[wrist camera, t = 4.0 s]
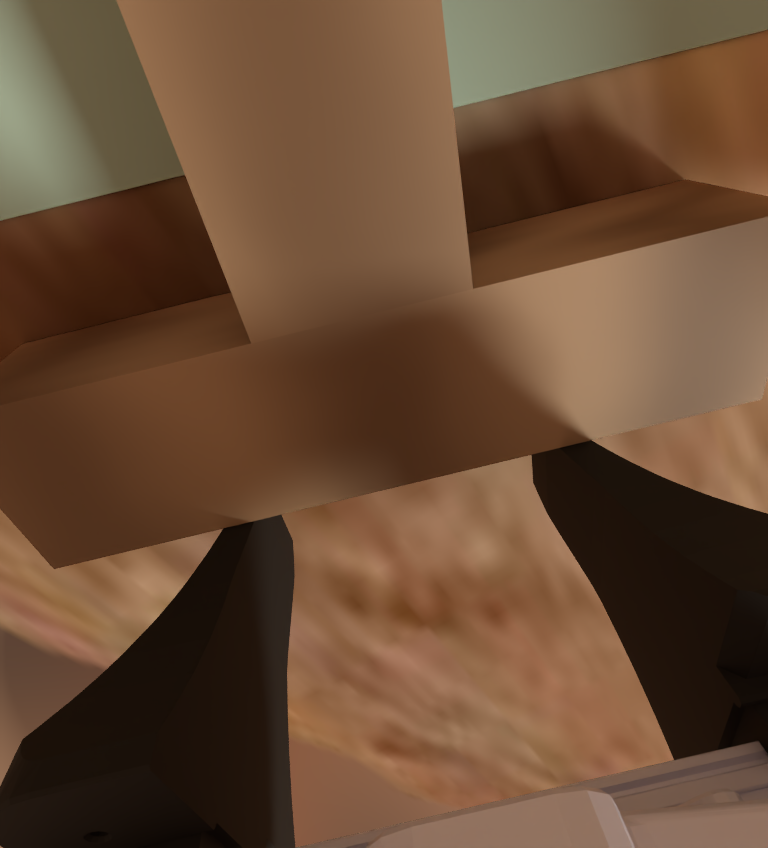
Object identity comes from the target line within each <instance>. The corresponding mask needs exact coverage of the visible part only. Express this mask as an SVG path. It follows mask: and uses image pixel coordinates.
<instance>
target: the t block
mask: <svg viewBox="0 0 768 848" xmlns="http://www.w3.org/2000/svg"><path fill="white" fill-rule="evenodd" d="M116 1H117V3H118V6H119V9H120V11H121V14H122V16H123V19H124V21H125V24H126V26H127V29H128V31H129V34H130V37H131V39H132V42H133V44H134V47H135V49H136V52H137V54H138V57H139V59H140V62H141V64H142V67H143V70H144V72H145V75H146V77H147V80H148V82H149V85H150V87H151V90H152V92H153V95H154V98H155V100H156V103H157V105H158V108H159V110H160V113H161V115H162V118H163V120H164V123H165V125H166V128H167V131H168V133H169V136H170V138H171V141H172V143H173V146H174V148H175V151H176V153H177V156H178V158H179V161H180V164H181V166H182V169H183V171H184V174H185V176H186V179H187V181H188V184H189V186H190V189H191V192H192V194H193V197H194V199H195V202H196V204H197V207H198V209H199V212H200V214H201V217H202V219H203V222H204V225H205V227H206V230H207V232H208V235H209V237H210V240H211V242H212V245H213V247H214V250H215V252H216V255H217V258H218V260H219V263H220V265H221V268H222V270H223V273H224V275H225V278H226V280H227V283H228V286H229V288H230V291H231V292H230V293H226V294H221V295H217V296H213V297H209V298H205V299H201V300H197V301H193V302H189V303H185V304H181V305H177V306H173V307H169V308H165V309H161V310H157V311H153V312H149V313H145V314H141V315H137V316H133V317H129V318H125V319H121V320H117V321H113V322H109V323H104V324H100V325H96V326H92V327H88V328H84V329H80V330H76V331H72V332H68V333H64V334H60V335H56V336H52V337H48V338H44V339H40V340H36V341H32V342H28V343H24V344H21V345H20V346H19V347H18V348H16V349H15V350H14V351H13V352H12V353H10V354H9V355H8V356H7V357H6V358H4V359H3V360H2V361H1V362H0V509H1V510H2V511H3V512H4V513H5V514H6V516H7V517H8V518H9V519H10V520H11V521H12V522H13V523H14V525H15V526H16V527H17V528H18V529H19V530H20V531H21V532H22V534H23V535H24V536H25V537H26V538H27V539H28V540H29V541H30V543H31V544H32V545H33V546H34V547H35V548H36V549H37V550H38V552H39V553H40V554H41V555H42V556H43V557H44V558H45V559H46V560H47V562H48V563H49V564H50V565H51V566H52V567H53V568H54V569H56V568H60V567H64V566H69V565H73V564H77V563H81V562H85V561H89V560H94V559H98V558H102V557H106V556H110V555H114V554H119V553H123V552H127V551H131V550H135V549H140V548H144V547H148V546H152V545H156V544H160V543H165V542H169V541H173V540H177V539H181V538H185V537H190V536H194V535H198V534H202V533H206V532H210V531H215V530H219V529H223V528H227V527H231V526H236V525H240V524H244V523H248V522H252V521H256V520H261V519H265V518H269V517H273V516H277V515H281V514H286V513H290V512H294V511H298V510H302V509H306V508H311V507H315V506H319V505H323V504H327V503H332V502H336V501H340V500H344V499H348V498H352V497H357V496H361V495H365V494H369V493H373V492H377V491H382V490H386V489H390V488H394V487H398V486H402V485H407V484H411V483H415V482H419V481H423V480H427V479H432V478H436V477H440V476H444V475H448V474H453V473H457V472H461V471H465V470H469V469H473V468H478V467H482V466H486V465H490V464H494V463H498V462H503V461H507V460H511V459H515V458H519V457H523V456H528V455H532V454H536V453H540V452H544V451H549V450H553V449H557V448H561V447H565V446H569V445H574V444H578V443H582V442H586V441H590V440H594V439H599V438H603V437H607V436H611V435H615V434H619V433H624V432H628V431H632V430H636V429H640V428H645V427H649V426H653V425H657V424H661V423H665V422H670V421H674V420H678V419H682V418H686V417H690V416H695V415H699V414H703V413H707V412H711V411H715V410H720V409H724V408H728V407H732V406H736V405H740V404H745V403H749V402H753V401H757V400H761V399H762V397H763V393H764V389H765V385H766V381H767V378H768V196H763V195H758V194H753V193H749V192H744V191H739V190H734V189H729V188H724V187H719V186H715V185H710V184H705V183H700V182H695V181H690V180H682V181H678V182H673V183H669V184H665V185H661V186H657V187H653V188H649V189H645V190H641V191H637V192H633V193H629V194H625V195H621V196H617V197H613V198H609V199H605V200H601V201H597V202H593V203H589V204H585V205H581V206H577V207H573V208H569V209H565V210H560V211H556V212H552V213H548V214H544V215H540V216H536V217H532V218H528V219H524V220H520V221H516V222H512V223H508V224H504V225H500V226H496V227H492V228H488V229H484V230H480V231H476V232H472V233H468V234H467V228H466V219H465V210H464V201H463V192H462V183H461V174H460V165H459V155H458V146H457V137H456V128H455V119H454V110H453V101H452V92H451V82H450V73H449V64H448V55H447V46H446V37H445V28H444V19H443V10H442V0H116Z"/></svg>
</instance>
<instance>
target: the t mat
mask: <svg viewBox="0 0 768 848" xmlns="http://www.w3.org/2000/svg"><path fill="white" fill-rule="evenodd" d="M442 10H443V19H444V28H445V37H446V46H447V55H448V64H449V73H450V82H451V92H452V101H453V108H455V107H459V106H463V105H467V104H471V103H475V102H479V101H483V100H487V99H491V98H495V97H499V96H503V95H507V94H511V93H515V92H520V91H524V90H528V89H532V88H536V87H540V86H544V85H548V84H552V83H556V82H560V81H564V80H568V79H572V78H576V77H580V76H584V75H588V74H592V73H596V72H600V71H604V70H608V69H612V68H616V67H620V66H624V65H628V64H632V63H636V62H640V61H644V60H648V59H652V58H656V57H660V56H664V55H668V54H672V53H676V52H680V51H684V50H688V49H692V48H696V47H700V46H704V45H708V44H712V43H716V42H720V41H724V40H728V39H732V38H736V37H741V36H745V35H749V34H753V33H757V32H761V31H765V30H768V0H442ZM182 175H185V174H184V171H183V169H182V166H181V164H180V161H179V158H178V156H177V153H176V151H175V148H174V146H173V143H172V141H171V138H170V136H169V133H168V131H167V128H166V125H165V123H164V120H163V118H162V115H161V113H160V110H159V108H158V105H157V103H156V100H155V98H154V95H153V92H152V90H151V87H150V85H149V82H148V80H147V77H146V75H145V72H144V70H143V67H142V64H141V62H140V59H139V57H138V54H137V52H136V49H135V47H134V44H133V42H132V39H131V37H130V34H129V31H128V29H127V26H126V24H125V21H124V19H123V16H122V14H121V11H120V9H119V6H118V3H117V1H116V0H0V221H1V220H5V219H9V218H13V217H17V216H21V215H25V214H29V213H33V212H37V211H41V210H45V209H49V208H53V207H57V206H61V205H65V204H69V203H73V202H78V201H82V200H86V199H90V198H94V197H98V196H102V195H106V194H110V193H114V192H118V191H122V190H126V189H130V188H134V187H138V186H142V185H146V184H150V183H154V182H158V181H162V180H166V179H170V178H174V177H178V176H182Z"/></svg>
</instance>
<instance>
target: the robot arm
mask: <svg viewBox="0 0 768 848" xmlns="http://www.w3.org/2000/svg"><path fill="white" fill-rule="evenodd" d="M532 468H533V483H534V485H535V487H536V490H537V492H538V494H539V496H540V499H541V501H542V503H543V505H544V507H545V509H546V511H547V514H548V515H549V517H550V519H551V520H552V522H553V524H554V525H555V527H556V528H557V530H558V532H559V533H560V535H561V536H562V538H563V540H564V541H565V543H566V544H567V546H568V547H569V549H570V551H571V552H572V554H573V555H574V557H575V559H576V560H577V562H578V563H579V565H580V566H581V568H582V570H583V571H584V573H585V574H586V576H587V577H588V579H589V581H590V582H591V584H592V586H593V587H594V589H595V591H596V593H597V594H598V596H599V598H600V600H601V602H602V604H603V606H604V608H605V610H606V612H607V614H608V616H609V618H610V620H611V622H612V624H613V626H614V628H615V630H616V632H617V634H618V636H619V638H620V640H621V642H622V644H623V646H624V648H625V650H626V653H627V655H628V657H629V659H630V661H631V663H632V665H633V667H634V669H635V672H636V674H637V676H638V678H639V680H640V683H641V685H642V687H643V689H644V692H645V694H646V696H647V698H648V700H649V703H650V705H651V707H652V709H653V711H654V714H655V716H656V718H657V721H658V723H659V725H660V728H661V730H662V732H663V735H664V737H665V739H666V742H667V744H668V746H669V749H670V751H671V753H672V756H673V758H674V760H673V761H669V762H664V763H660V764H656V765H651V766H647V767H643V768H638V769H634V770H630V771H625V772H621V773H617V774H612V775H608V776H604V777H599V778H595V779H591V780H586V781H582V782H578V783H574V784H569V785H565V786H561V787H556V788H552V789H548V790H543V791H539V792H535V793H530V794H526V795H522V796H517V797H513V798H509V799H504V800H500V801H496V802H491V803H487V804H483V805H478V806H474V807H470V808H465V809H461V810H457V811H452V812H448V813H444V814H440V815H435V816H431V817H427V818H422V819H418V820H414V821H409V822H405V823H400V824H396V825H392V826H388V827H383V828H379V829H375V830H370V831H366V832H362V833H357V834H353V835H349V836H344V837H340V838H336V839H332V840H327V841H323V842H319V843H314V844H310V845H306V846H301V847H297V848H768V514H767V513H763V512H760V511H756V510H753V509H749V508H746V507H743V506H739V505H736V504H733V503H730V502H727V501H724V500H721V499H718V498H715V497H712V496H709V495H706V494H703V493H701V492H698V491H695V490H693V489H690V488H688V487H685V486H683V485H680V484H678V483H675V482H673V481H670V480H668V479H666V478H663V477H661V476H659V475H657V474H654V473H652V472H650V471H648V470H646V469H644V468H642V467H640V466H638V465H636V464H634V463H632V462H630V461H628V460H626V459H624V458H622V457H620V456H618V455H616V454H615V453H613V452H611V451H609V450H607V449H605V448H604V447H602V446H600V445H598V444H597V443H595V442H593V441H591V440H590V441H586V442H582V443H578V444H574V445H569V446H565V447H561V448H557V449H553V450H549V451H544V452H540V453H536V454H532ZM293 589H294V553H293V540H292V538H291V536H290V533H289V531H288V529H287V527H286V525H285V522H284V520H283V518H282V516H281V515H277V516H273V517H269V518H265V519H261V520H256V521H252V522H248V523H244V524H240V525H236V526H231V527H227V528H223V530H222V532H221V533H220V535H219V536H218V538H217V539H216V541H215V542H214V544H213V546H212V547H211V549H210V550H209V552H208V553H207V555H206V556H205V557H204V559H203V560H202V562H201V563H200V564H199V566H198V567H197V569H196V570H195V571H194V573H193V574H192V576H191V577H190V578H189V580H188V581H187V583H186V584H185V585H184V586H183V588H182V589H181V590H180V592H179V593H178V594H177V595H176V597H175V598H174V599H173V600H172V601H171V603H170V604H169V605H168V606H167V607H166V608H165V610H164V611H163V612H162V613H161V614H160V615H159V617H158V618H157V619H156V620H155V621H154V622H153V623H152V624H151V625H150V626H149V628H148V629H147V630H146V631H145V632H144V633H143V634H142V635H141V636H140V637H139V638H138V639H137V640H136V641H135V642H134V643H133V644H132V645H131V646H130V647H129V648H128V649H127V650H126V651H125V652H124V653H123V654H122V655H121V656H120V657H119V658H118V659H117V660H116V661H115V662H114V663H113V664H112V665H111V666H110V667H109V668H108V669H107V670H105V671H104V672H103V673H102V674H101V675H100V676H99V677H98V678H97V679H96V680H94V681H93V682H92V683H91V684H90V685H89V686H88V687H87V688H85V690H83V691H82V692H81V693H80V694H79V695H77V696H76V697H75V698H74V699H73V700H72V701H70V702H69V703H68V704H67V705H65V706H64V707H63V708H62V709H60V710H59V711H58V712H57V713H55V714H54V715H53V716H52V717H50V718H49V719H48V720H47V721H45V722H44V723H43V724H42V725H40V726H39V727H38V728H37V729H35V730H34V731H33V732H32V733H30V734H29V735H28V736H26V737H25V738H24V739H23V740H22V742H21V744H20V746H19V748H18V750H17V752H16V754H15V756H14V759H13V760H12V763H11V765H10V767H9V769H8V771H7V773H6V775H5V778H4V780H3V782H2V784H1V786H0V846H2V847H3V848H295V838H294V825H293V812H292V798H291V779H290V761H289V737H288V705H287V662H288V647H289V636H290V624H291V613H292V601H293Z"/></svg>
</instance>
